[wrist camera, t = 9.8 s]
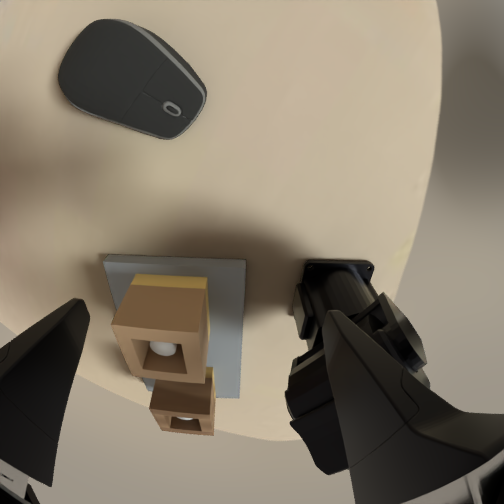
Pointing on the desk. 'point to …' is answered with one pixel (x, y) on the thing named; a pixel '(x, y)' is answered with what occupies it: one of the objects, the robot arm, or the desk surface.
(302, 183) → the desk surface
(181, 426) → the sleeve
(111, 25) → the computer mouse
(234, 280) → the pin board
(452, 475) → the robot arm
